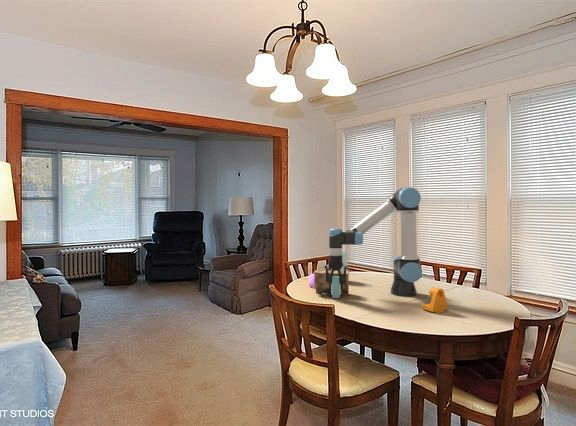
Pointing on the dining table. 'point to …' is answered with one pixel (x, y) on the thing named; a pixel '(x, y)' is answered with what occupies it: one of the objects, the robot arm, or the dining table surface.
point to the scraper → (335, 287)
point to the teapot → (312, 281)
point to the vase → (344, 259)
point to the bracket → (436, 301)
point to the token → (325, 293)
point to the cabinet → (321, 279)
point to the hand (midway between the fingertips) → (336, 294)
